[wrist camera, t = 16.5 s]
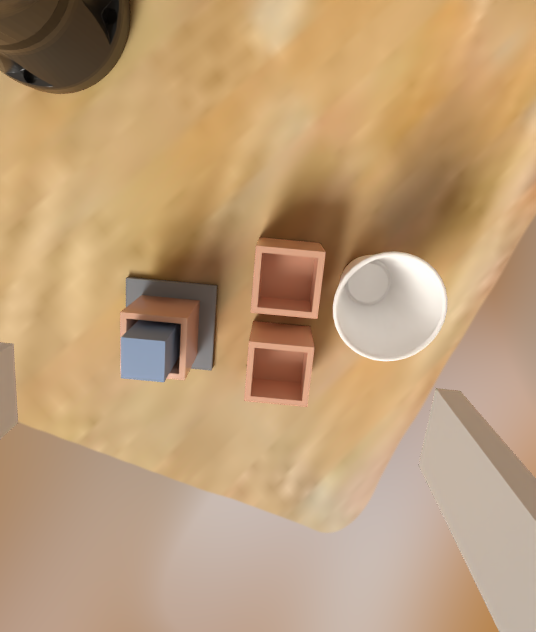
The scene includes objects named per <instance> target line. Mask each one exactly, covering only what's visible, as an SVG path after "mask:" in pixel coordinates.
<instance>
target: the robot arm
mask: <svg viewBox="0 0 536 632" xmlns="http://www.w3.org/2000/svg"><path fill="white" fill-rule="evenodd" d="M129 24H130V3H129V0H0V71H2V72H3V73H4V74H6V75H7V76H9V77H10V78H12V79H13V80H15V81H17V82H19V83H22V84H24V85H26V86H29V87H31V88H34V89H37V90H40V91H43V92H48V93H55V94H66V93H74V92H78V91H81V90H84V89H86V88H89V87H91V86H92V85H94V84H96V83H97V82H99V81H100V80H101V79H103V78H104V77H105V76H106V75H107V74H108V73H109V72H110V71H111V69H112V68H113V67H114V66H115V64H116V62H117V61H118V59H119V57H120V56H121V53H122V51H123V49H124V46H125V43H126V40H127V36H128V31H129ZM17 424H18V413H17V396H16V379H15V362H14V344H11V343H1V342H0V439H1V438H2V437H3V436H4V435H6V434H7V433H8V432H9V431H10V430H11V429H12V428H13V427H14V426H15V425H17ZM419 468H420V470H421V472H422V474H423V476H424V478H425V480H426V482H427V484H428V486H429V488H430V490H431V492H432V494H433V496H434V498H435V500H436V502H437V505H438V506H439V509H440V510H441V513H442V515H443V517H444V519H445V521H446V523H447V525H448V527H449V529H450V531H451V533H452V535H453V538H454V539H455V542H456V544H457V546H458V548H459V549H460V552H461V554H462V556H463V558H464V560H465V562H466V564H467V566H468V568H469V570H470V572H471V574H472V577H473V579H474V581H475V583H476V585H477V587H478V589H479V591H480V593H481V594H482V597H483V599H484V601H485V603H486V605H487V607H488V609H489V612H490V614H491V616H492V617H493V620H494V622H495V624H496V626H497V628H498V630H499V632H536V478H535V477H534V476H533V475H532V473H531V472H530V471H529V470H528V469H527V468H526V467H525V465H524V464H523V463H522V462H521V461H520V460H519V458H518V457H517V456H516V455H515V454H514V453H513V451H512V450H511V449H510V448H509V447H508V446H507V444H506V443H505V442H504V441H503V440H502V439H501V438H500V436H499V435H498V434H497V433H496V432H495V431H494V430H493V428H492V427H491V426H490V425H489V424H488V422H487V421H486V420H485V419H484V418H483V417H482V416H481V414H480V413H479V412H478V411H477V410H476V409H475V407H474V406H473V405H472V404H471V403H470V402H469V401H468V399H467V398H466V397H465V396H464V395H463V394H462V392H461V391H456V390H447V389H437V388H436V389H435V394H434V398H433V402H432V407H431V411H430V416H429V420H428V425H427V429H426V434H425V438H424V443H423V447H422V452H421V456H420V461H419Z"/></svg>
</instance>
